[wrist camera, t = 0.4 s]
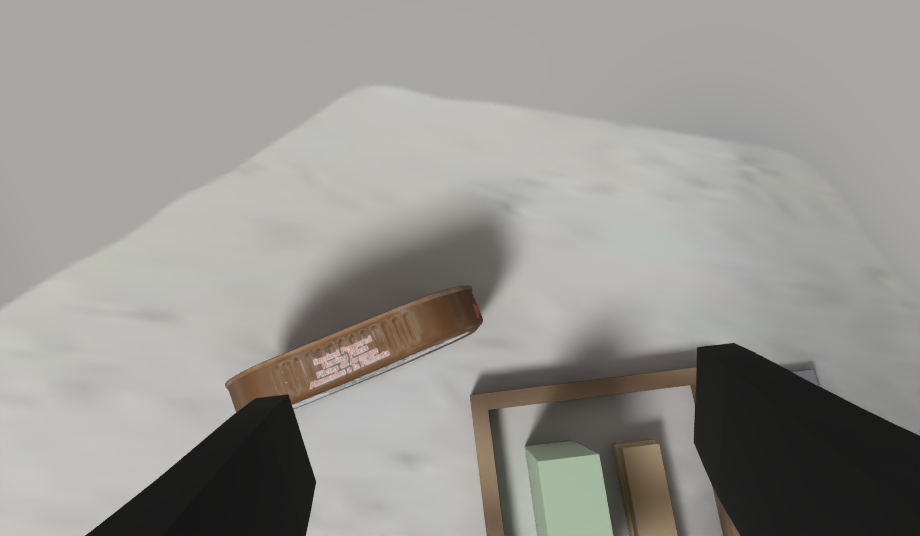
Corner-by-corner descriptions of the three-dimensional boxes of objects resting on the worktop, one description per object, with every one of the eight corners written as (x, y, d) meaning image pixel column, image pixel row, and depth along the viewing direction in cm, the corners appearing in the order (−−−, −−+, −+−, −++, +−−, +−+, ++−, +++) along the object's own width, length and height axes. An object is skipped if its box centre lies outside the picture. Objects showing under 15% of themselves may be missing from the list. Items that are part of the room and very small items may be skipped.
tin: (470, 294, 36) (467, 265, 28) (489, 338, 35) (491, 321, 27) (259, 381, 35) (192, 377, 27) (274, 427, 35) (209, 438, 26)
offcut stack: (678, 578, 32) (691, 590, 30) (636, 583, 32) (647, 595, 30) (650, 438, 34) (661, 441, 32) (611, 443, 34) (619, 447, 32)
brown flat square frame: (765, 649, 30) (780, 662, 29) (504, 679, 31) (505, 694, 29) (702, 366, 34) (712, 365, 33) (470, 395, 34) (469, 395, 33)
